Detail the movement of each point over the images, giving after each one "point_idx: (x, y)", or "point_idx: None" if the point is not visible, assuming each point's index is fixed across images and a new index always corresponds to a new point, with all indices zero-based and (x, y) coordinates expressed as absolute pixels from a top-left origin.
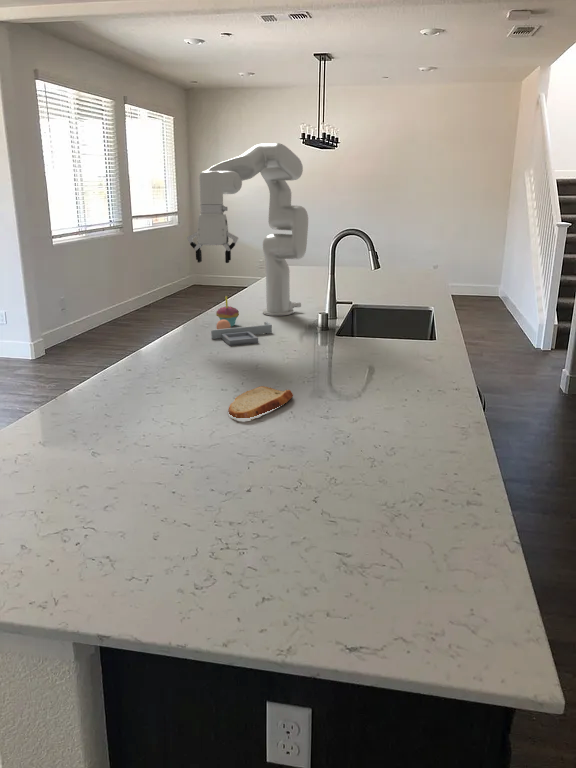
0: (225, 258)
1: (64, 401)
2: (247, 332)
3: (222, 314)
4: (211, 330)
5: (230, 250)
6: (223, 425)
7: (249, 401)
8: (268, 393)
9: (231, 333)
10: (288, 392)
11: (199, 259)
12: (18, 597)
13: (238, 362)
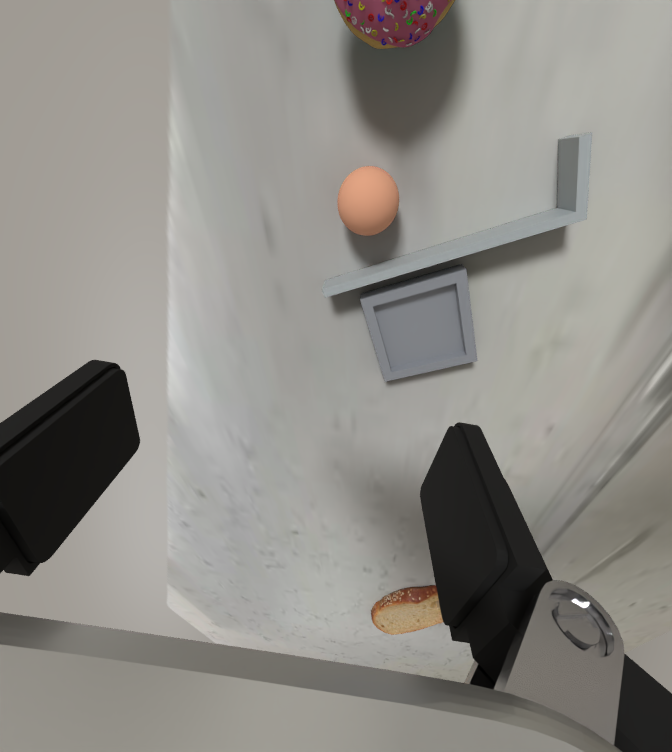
0: (428, 531)
1: (176, 569)
2: (456, 285)
3: (364, 35)
4: (324, 295)
5: (553, 604)
6: (366, 625)
7: (396, 614)
8: (422, 607)
9: (396, 296)
10: None
11: (121, 467)
12: None
13: (396, 484)
